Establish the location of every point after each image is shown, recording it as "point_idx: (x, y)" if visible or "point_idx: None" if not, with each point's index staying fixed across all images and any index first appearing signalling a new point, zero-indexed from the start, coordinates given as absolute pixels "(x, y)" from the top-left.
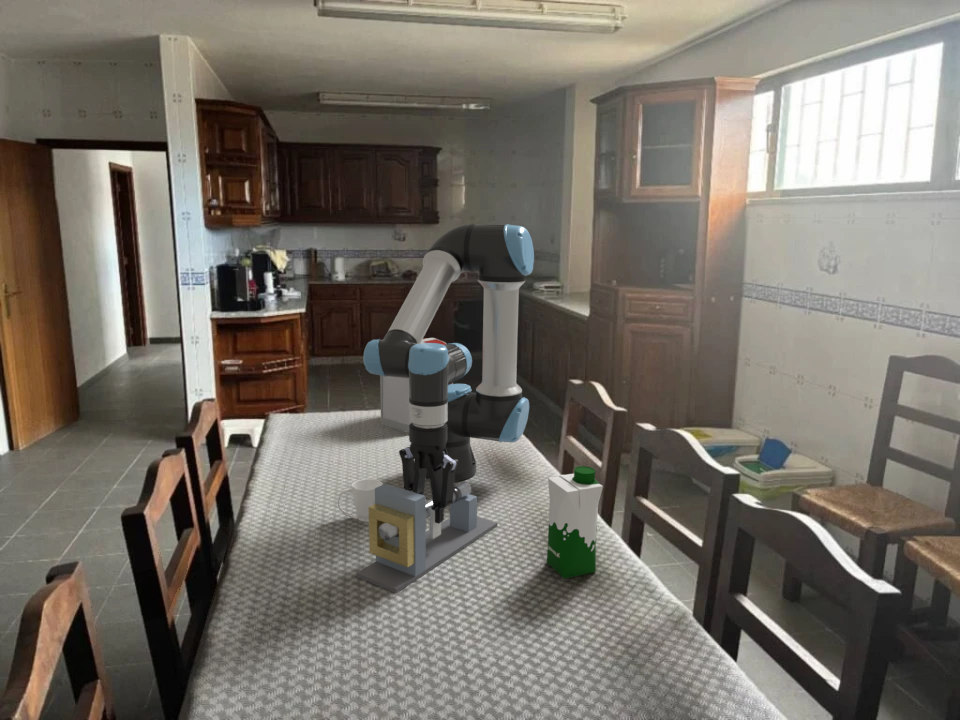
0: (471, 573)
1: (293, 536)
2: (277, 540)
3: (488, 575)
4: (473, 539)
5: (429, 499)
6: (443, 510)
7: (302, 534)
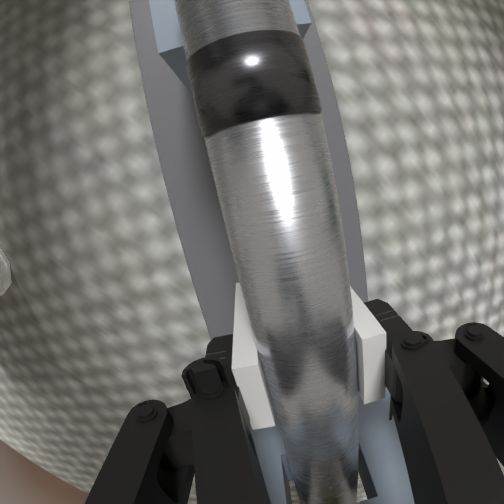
0: (450, 254)
1: (33, 421)
2: (41, 441)
3: (479, 228)
4: (335, 100)
5: (289, 367)
6: (408, 329)
7: (29, 409)
